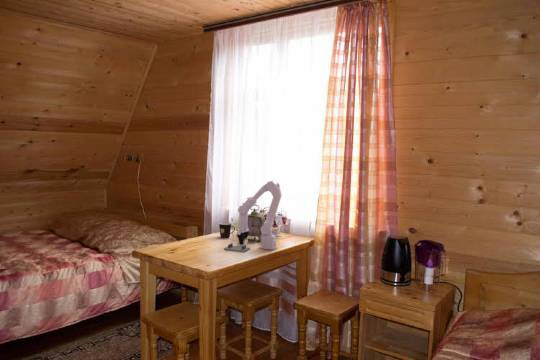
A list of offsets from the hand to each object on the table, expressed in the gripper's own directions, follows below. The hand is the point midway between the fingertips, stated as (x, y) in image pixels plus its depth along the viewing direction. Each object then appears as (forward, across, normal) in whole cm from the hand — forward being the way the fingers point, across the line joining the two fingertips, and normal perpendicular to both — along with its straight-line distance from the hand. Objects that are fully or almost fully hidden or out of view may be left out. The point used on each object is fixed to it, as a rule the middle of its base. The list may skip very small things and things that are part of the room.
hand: (242, 243), depth 297 cm
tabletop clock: (+2, -19, 0) cm, 19 cm away
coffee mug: (+2, -16, -20) cm, 26 cm away
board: (+1, +11, +1) cm, 11 cm away
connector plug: (+2, 0, 0) cm, 2 cm away
